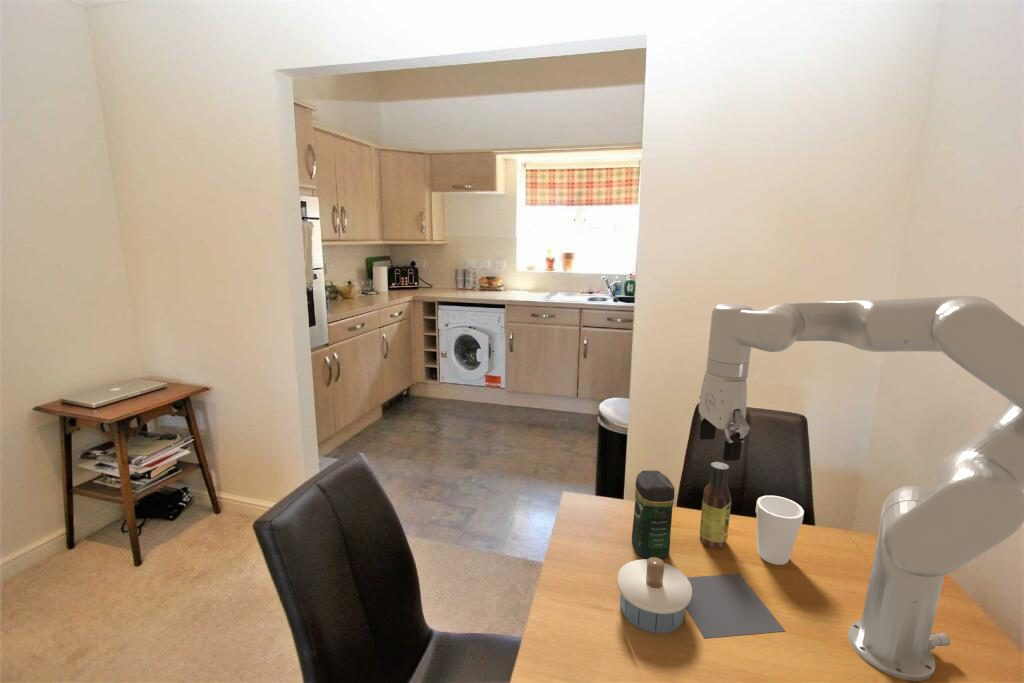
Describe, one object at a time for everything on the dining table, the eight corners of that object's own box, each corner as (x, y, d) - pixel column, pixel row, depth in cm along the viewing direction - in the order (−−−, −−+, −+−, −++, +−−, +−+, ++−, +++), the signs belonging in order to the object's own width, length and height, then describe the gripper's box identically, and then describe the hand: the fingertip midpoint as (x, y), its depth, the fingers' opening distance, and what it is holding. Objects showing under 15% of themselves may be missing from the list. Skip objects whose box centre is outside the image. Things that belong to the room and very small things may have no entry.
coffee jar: (673, 561, 116) (680, 487, 112) (639, 562, 116) (644, 488, 111) (659, 535, 125) (665, 466, 121) (627, 536, 125) (632, 467, 121)
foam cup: (802, 573, 112) (810, 520, 109) (757, 568, 114) (764, 516, 111) (787, 546, 121) (794, 497, 118) (745, 542, 123) (752, 493, 120)
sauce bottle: (729, 551, 119) (738, 474, 115) (700, 548, 121) (709, 471, 116) (723, 535, 126) (732, 461, 121) (696, 531, 127) (704, 458, 122)
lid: (673, 561, 108) (675, 538, 106) (704, 610, 94) (707, 585, 93) (608, 566, 106) (609, 542, 105) (631, 617, 92) (633, 591, 91)
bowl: (668, 587, 108) (670, 564, 106) (694, 631, 96) (696, 607, 95) (613, 591, 106) (614, 568, 105) (632, 637, 95) (634, 612, 94)
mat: (739, 575, 112) (739, 573, 111) (785, 632, 96) (785, 630, 96) (669, 580, 110) (669, 578, 110) (704, 639, 94) (704, 638, 94)
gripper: (689, 356, 107) (682, 432, 111) (732, 382, 91) (722, 470, 95) (722, 355, 108) (714, 430, 112) (772, 381, 92) (760, 468, 96)
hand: (718, 448), depth 104 cm, fingers open, 9 cm apart
